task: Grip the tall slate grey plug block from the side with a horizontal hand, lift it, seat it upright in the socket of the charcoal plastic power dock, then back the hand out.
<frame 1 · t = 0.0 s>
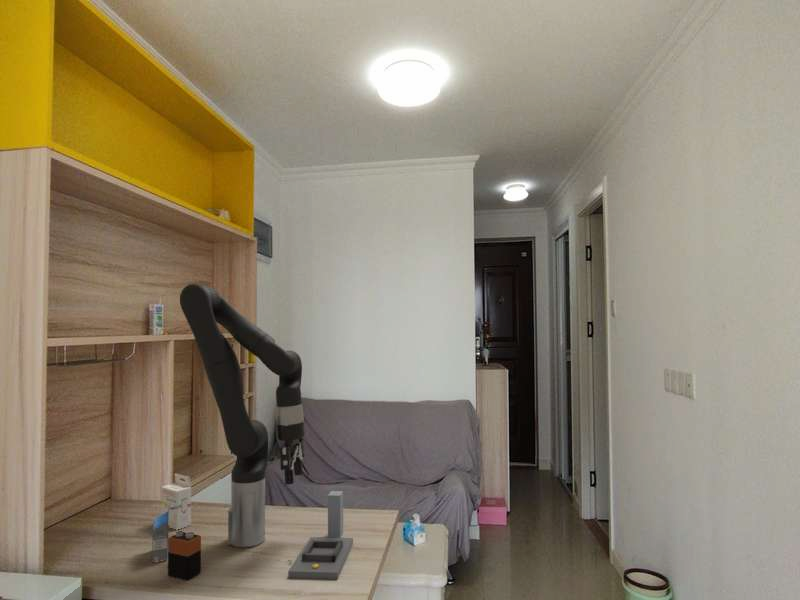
hand: (294, 479, 142), 17 cm above the table, tool pointing down, fingers open, 8 cm apart
power dock: (323, 559, 130), on the table
ink cartridge box: (175, 526, 154), on the table
battery: (184, 575, 123), on the table
label tape cartridge: (160, 556, 134), on the table
plug: (335, 535, 144), on the table
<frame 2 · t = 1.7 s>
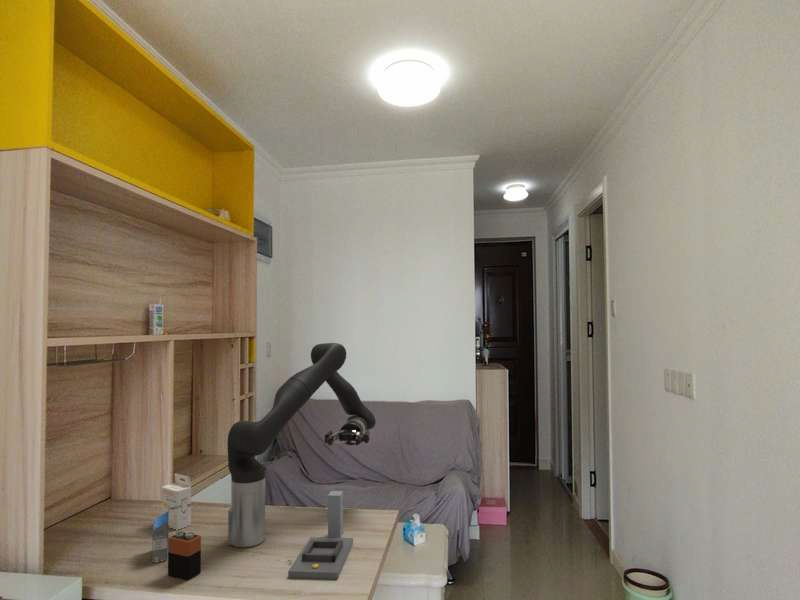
hand: (343, 442, 157), 24 cm above the table, tool horizontal, fingers open, 8 cm apart
nothing on the table moved.
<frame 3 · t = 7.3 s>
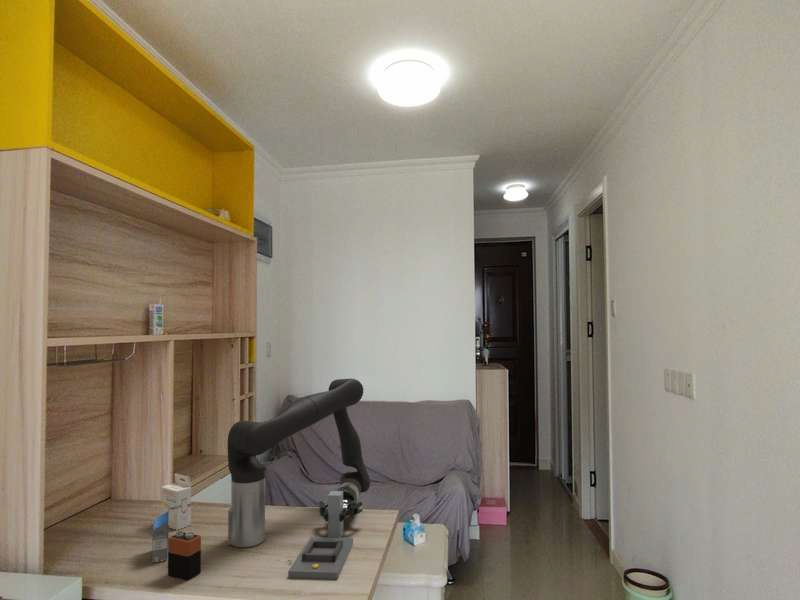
hand: (333, 517, 142), 6 cm above the table, tool horizontal, fingers closed on plug, 3 cm apart
plug: (335, 535, 144), on the table, touching gripper
everything else where it was.
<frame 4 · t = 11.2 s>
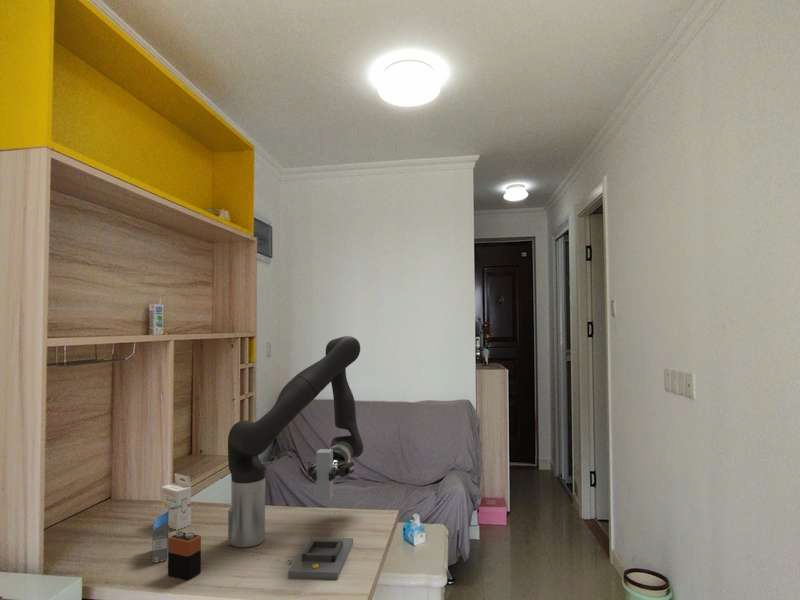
hand: (322, 476, 130), 21 cm above the table, tool horizontal, fingers closed on plug, 3 cm apart
plug: (324, 497, 133), point 15 cm above the table, touching gripper
everything else where it was.
when the fingers open (8 cm above the table, at t = 15.3 s): plug stays where it is, resting on power dock.
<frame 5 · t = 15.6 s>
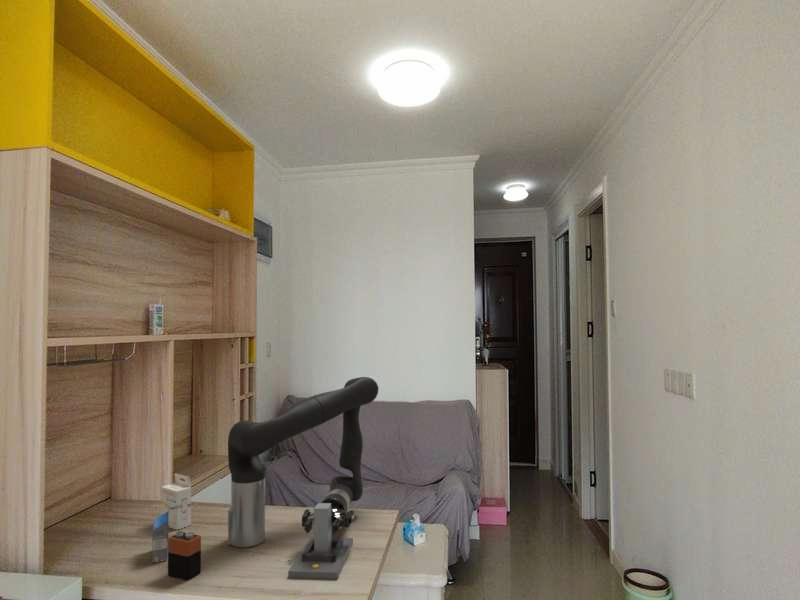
hand: (320, 529, 128), 9 cm above the table, tool horizontal, fingers open, 6 cm apart
plug: (323, 553, 130), point 1 cm above the table, touching power dock
everything else where it was.
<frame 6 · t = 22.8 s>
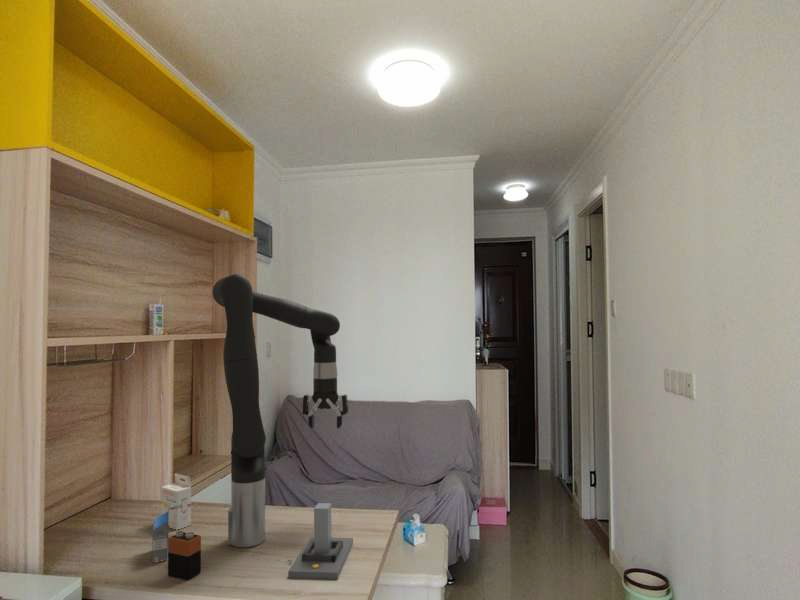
hand: (325, 427, 160), 28 cm above the table, tool pointing down, fingers open, 8 cm apart
nothing on the table moved.
at the end: plug 0.0 cm off-centre on the power dock, point 1.5 cm above the power dock's base; plug tilted 0°; the gripper is holding nothing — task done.
